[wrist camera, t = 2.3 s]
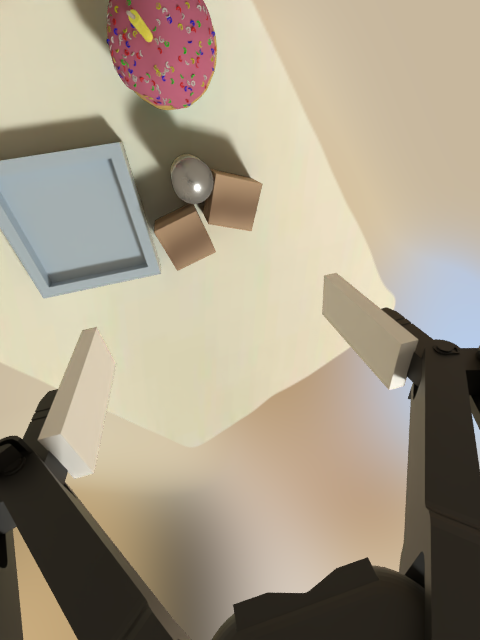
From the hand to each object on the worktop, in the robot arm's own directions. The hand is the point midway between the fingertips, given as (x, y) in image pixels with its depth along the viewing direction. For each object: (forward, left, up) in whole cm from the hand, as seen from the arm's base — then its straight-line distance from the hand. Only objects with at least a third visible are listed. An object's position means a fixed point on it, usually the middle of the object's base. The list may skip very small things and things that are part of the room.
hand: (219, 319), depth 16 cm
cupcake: (-15, +1, -23) cm, 27 cm away
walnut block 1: (+1, -1, -23) cm, 23 cm away
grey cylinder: (-5, +1, -23) cm, 23 cm away
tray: (-2, -12, -23) cm, 26 cm away
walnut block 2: (-2, +5, -23) cm, 23 cm away
